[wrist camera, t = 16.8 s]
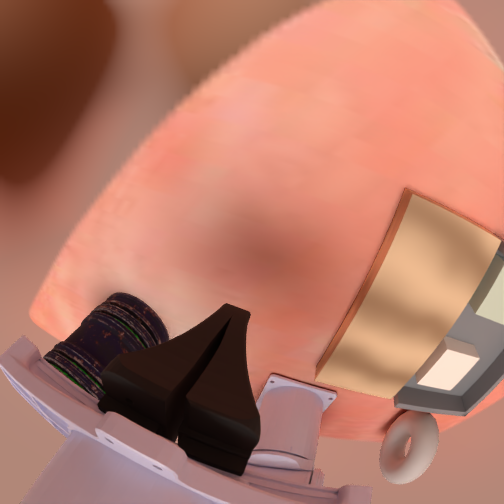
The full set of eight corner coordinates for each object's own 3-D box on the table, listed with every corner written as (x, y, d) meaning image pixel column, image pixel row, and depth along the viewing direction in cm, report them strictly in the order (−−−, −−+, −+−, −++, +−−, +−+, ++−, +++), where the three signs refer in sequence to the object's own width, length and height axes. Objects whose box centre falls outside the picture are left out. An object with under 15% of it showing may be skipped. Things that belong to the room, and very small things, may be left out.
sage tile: (498, 313, 18) (506, 325, 16) (467, 300, 19) (475, 313, 17) (524, 269, 16) (534, 280, 14) (494, 252, 16) (505, 262, 15)
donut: (394, 433, 29) (393, 494, 20) (374, 431, 29) (371, 493, 21) (438, 394, 24) (449, 464, 15) (418, 391, 25) (426, 465, 16)
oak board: (389, 385, 25) (390, 399, 23) (316, 366, 26) (314, 380, 25) (490, 231, 16) (501, 240, 14) (405, 187, 17) (412, 194, 16)
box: (460, 398, 24) (465, 416, 21) (392, 385, 25) (394, 407, 22) (552, 273, 15) (566, 288, 12) (493, 233, 16) (510, 247, 14)
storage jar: (167, 366, 33) (109, 453, 20) (108, 333, 34) (43, 404, 21) (173, 314, 29) (90, 420, 16) (103, 278, 30) (14, 355, 17)
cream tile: (446, 377, 22) (450, 390, 21) (414, 369, 23) (417, 383, 21) (474, 345, 20) (479, 358, 18) (442, 335, 21) (447, 349, 19)
